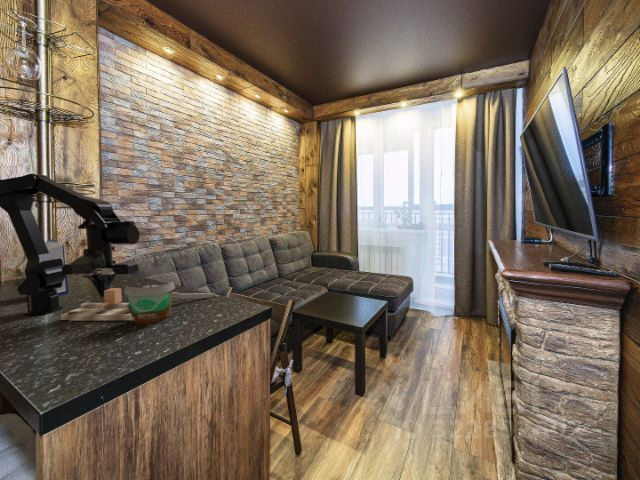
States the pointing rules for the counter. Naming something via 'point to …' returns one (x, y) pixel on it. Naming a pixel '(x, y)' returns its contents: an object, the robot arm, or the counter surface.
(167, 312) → the food container
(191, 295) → the caliper
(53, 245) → the milk carton
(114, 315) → the hole plate
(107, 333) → the counter surface
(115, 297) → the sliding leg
